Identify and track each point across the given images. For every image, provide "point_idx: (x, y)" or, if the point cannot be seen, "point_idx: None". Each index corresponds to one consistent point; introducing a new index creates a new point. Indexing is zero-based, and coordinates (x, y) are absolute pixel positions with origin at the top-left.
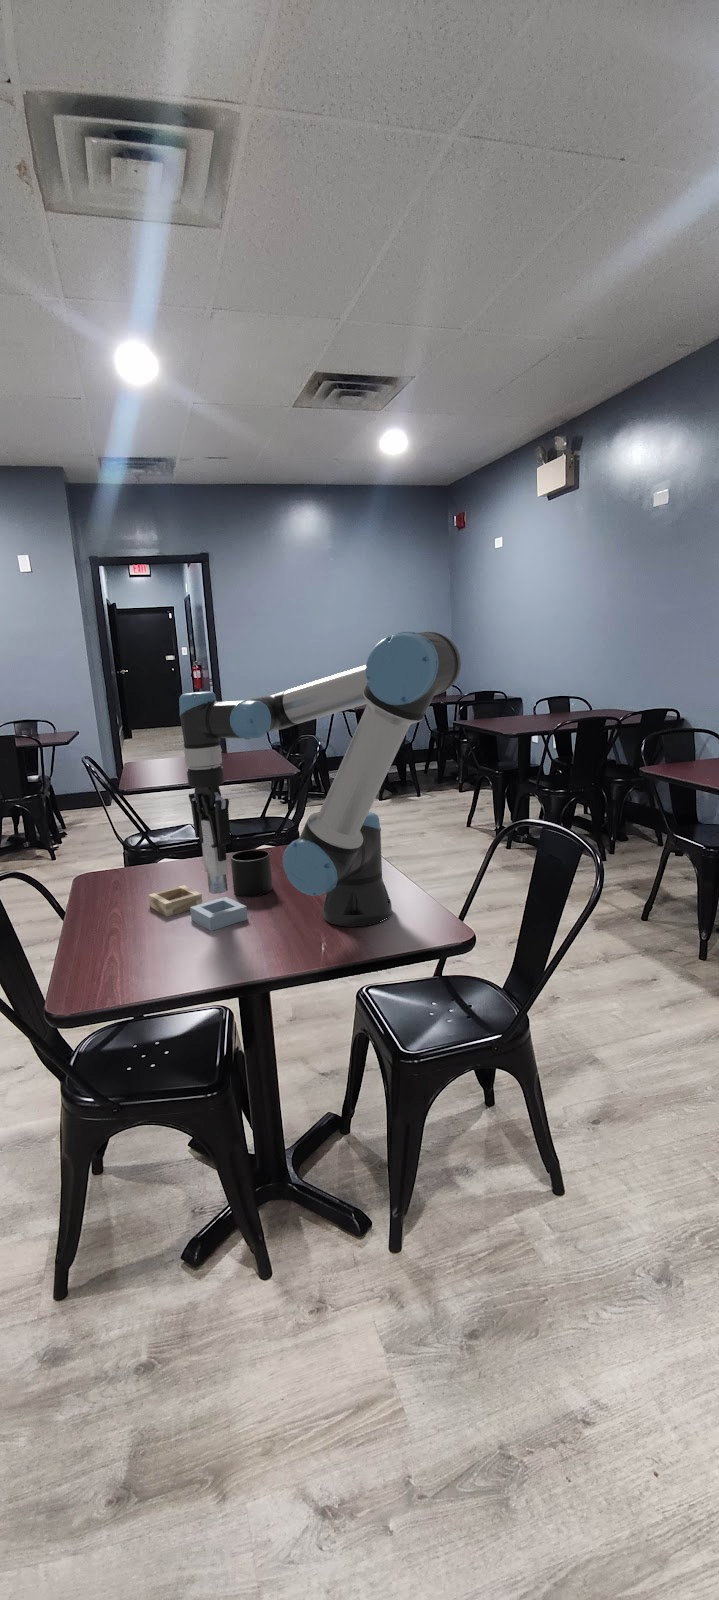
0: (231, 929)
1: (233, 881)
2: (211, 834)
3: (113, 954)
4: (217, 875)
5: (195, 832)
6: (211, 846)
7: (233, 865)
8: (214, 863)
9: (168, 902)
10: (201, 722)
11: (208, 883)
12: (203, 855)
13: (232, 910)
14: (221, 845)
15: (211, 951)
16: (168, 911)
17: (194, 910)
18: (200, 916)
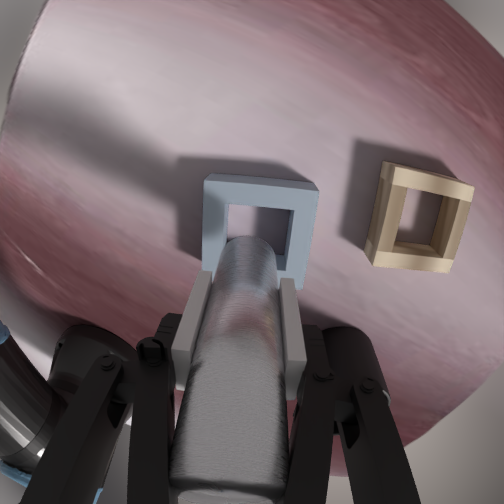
0: (184, 209)
1: (360, 345)
2: (183, 407)
3: None
4: (198, 273)
5: (378, 397)
6: (164, 343)
7: (361, 374)
8: (199, 298)
9: (398, 178)
10: None
11: (255, 249)
12: (297, 318)
13: (203, 245)
14: (125, 363)
15: (115, 117)
16: (385, 168)
17: (293, 187)
18: (260, 182)
